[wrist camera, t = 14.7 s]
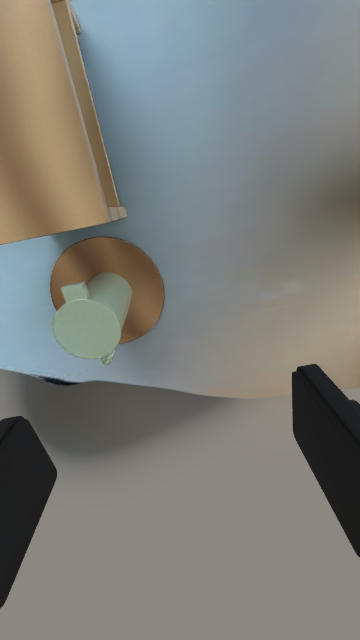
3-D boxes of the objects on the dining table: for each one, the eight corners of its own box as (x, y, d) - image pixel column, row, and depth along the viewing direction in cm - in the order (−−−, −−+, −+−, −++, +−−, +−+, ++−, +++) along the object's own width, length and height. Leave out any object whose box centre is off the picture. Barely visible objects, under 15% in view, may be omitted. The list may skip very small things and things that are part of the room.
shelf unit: (77, 16, 25) (7, -140, 14) (127, 217, 32) (108, 222, 21) (-25, 38, 25) (-177, -98, 14) (48, 233, 32) (-13, 247, 21)
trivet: (106, 210, 32) (105, 210, 31) (186, 298, 37) (186, 299, 36) (27, 289, 35) (25, 291, 34) (111, 360, 40) (110, 362, 39)
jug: (73, 267, 33) (35, 293, 23) (122, 257, 33) (105, 279, 23) (97, 335, 37) (74, 382, 27) (141, 326, 37) (134, 371, 27)
